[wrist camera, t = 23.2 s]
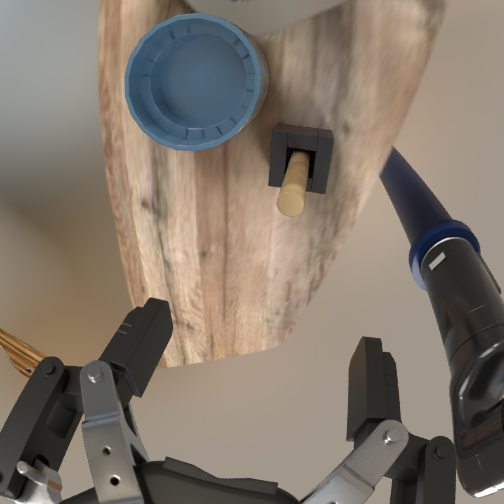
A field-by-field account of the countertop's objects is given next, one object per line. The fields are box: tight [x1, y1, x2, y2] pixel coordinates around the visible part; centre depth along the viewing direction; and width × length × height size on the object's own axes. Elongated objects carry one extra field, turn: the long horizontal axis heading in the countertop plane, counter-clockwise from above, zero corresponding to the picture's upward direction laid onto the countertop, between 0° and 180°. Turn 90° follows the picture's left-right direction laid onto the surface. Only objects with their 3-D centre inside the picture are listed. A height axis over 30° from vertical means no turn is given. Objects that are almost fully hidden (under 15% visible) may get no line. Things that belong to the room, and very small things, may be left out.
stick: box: [277, 148, 310, 216], centre depth 28 cm, size 2×2×15 cm
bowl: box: [125, 13, 269, 151], centre depth 29 cm, size 15×15×6 cm
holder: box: [268, 124, 334, 194], centre depth 32 cm, size 6×6×4 cm
